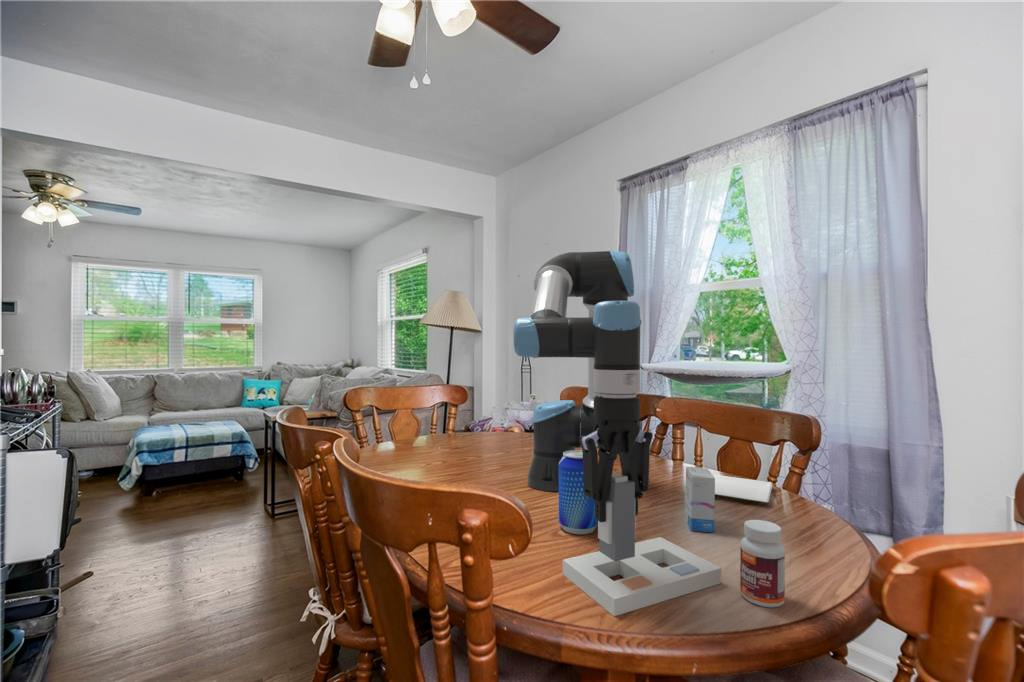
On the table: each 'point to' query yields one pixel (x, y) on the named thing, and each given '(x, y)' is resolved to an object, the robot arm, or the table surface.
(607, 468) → the robot arm
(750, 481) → the plate
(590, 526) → the beer can
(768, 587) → the pill bottle
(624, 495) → the plug
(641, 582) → the socket board
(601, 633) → the table surface
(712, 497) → the ink box
